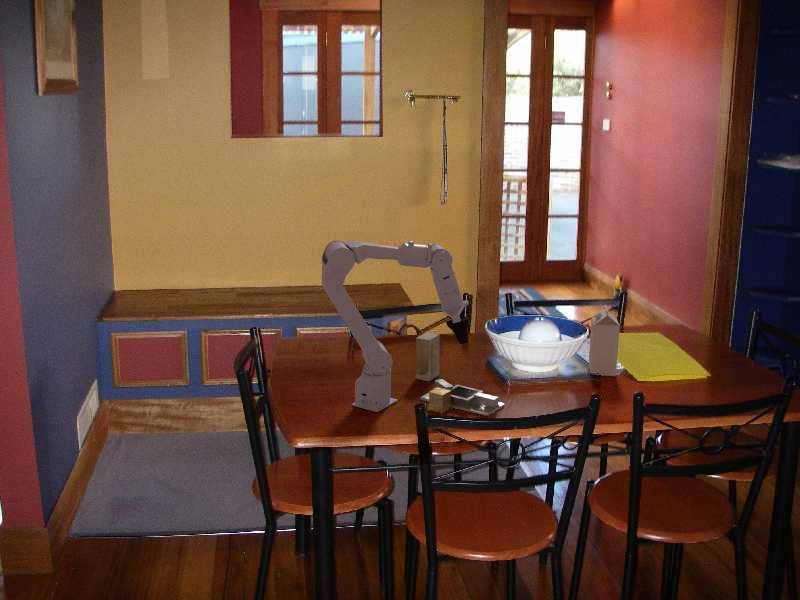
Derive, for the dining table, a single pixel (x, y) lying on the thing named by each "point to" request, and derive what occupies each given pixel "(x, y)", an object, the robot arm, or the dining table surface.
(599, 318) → the milk carton
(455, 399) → the coupling bench
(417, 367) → the skincare box
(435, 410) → the block
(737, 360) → the dining table surface
